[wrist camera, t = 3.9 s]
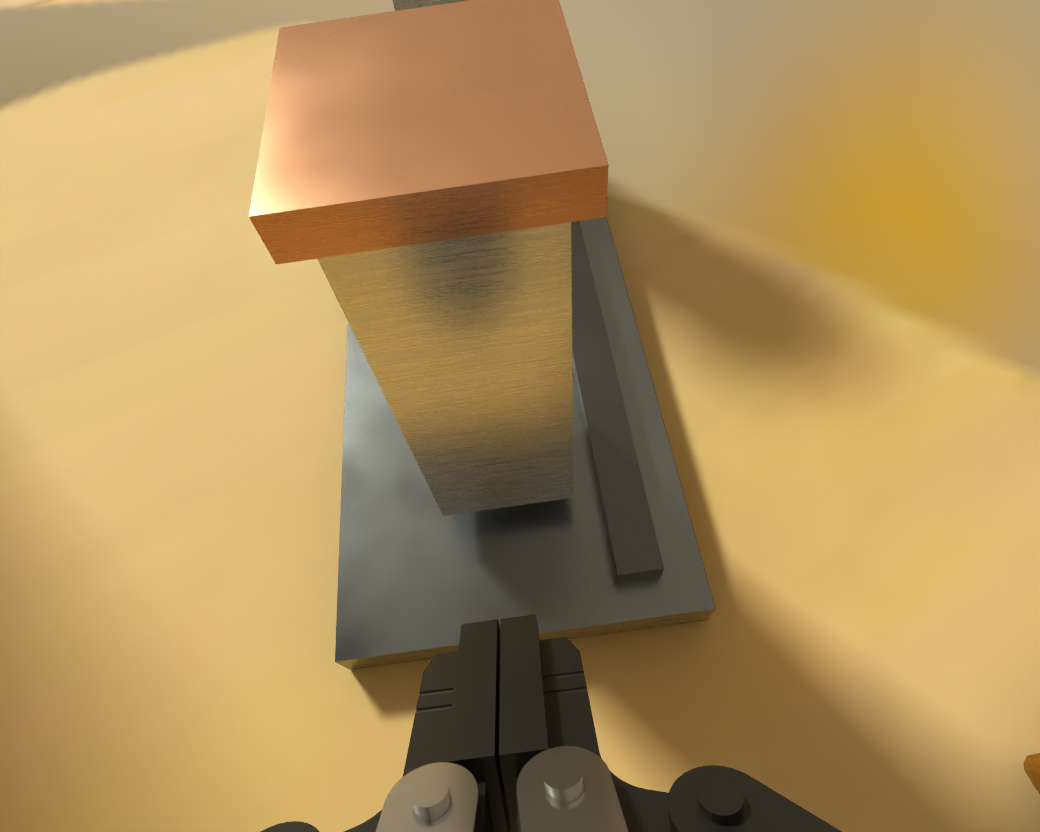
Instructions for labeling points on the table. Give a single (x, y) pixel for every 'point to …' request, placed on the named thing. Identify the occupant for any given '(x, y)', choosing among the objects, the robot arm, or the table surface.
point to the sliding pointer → (444, 224)
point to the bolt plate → (525, 528)
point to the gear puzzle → (1033, 769)
